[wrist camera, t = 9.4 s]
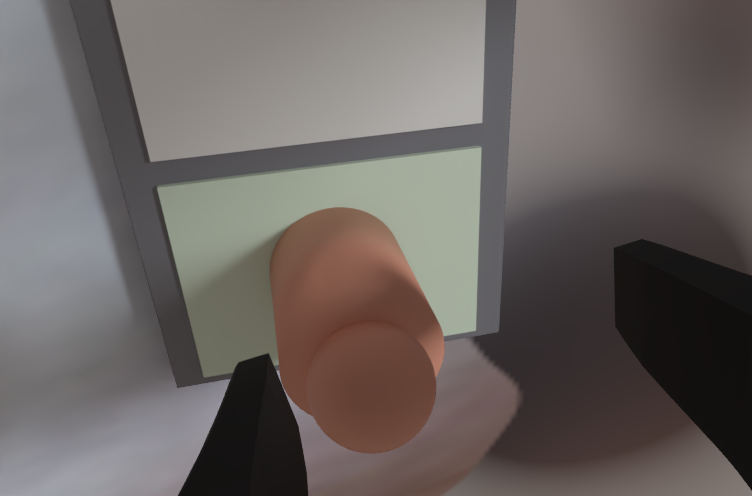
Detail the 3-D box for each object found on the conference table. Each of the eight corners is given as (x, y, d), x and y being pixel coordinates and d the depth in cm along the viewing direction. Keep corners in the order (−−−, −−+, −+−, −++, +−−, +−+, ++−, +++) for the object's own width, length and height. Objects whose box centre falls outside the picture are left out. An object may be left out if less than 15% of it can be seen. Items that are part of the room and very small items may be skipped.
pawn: (381, 188, 19) (458, 325, 13) (413, 297, 21) (492, 462, 15) (249, 233, 19) (257, 395, 12) (295, 339, 21) (322, 524, 15)
